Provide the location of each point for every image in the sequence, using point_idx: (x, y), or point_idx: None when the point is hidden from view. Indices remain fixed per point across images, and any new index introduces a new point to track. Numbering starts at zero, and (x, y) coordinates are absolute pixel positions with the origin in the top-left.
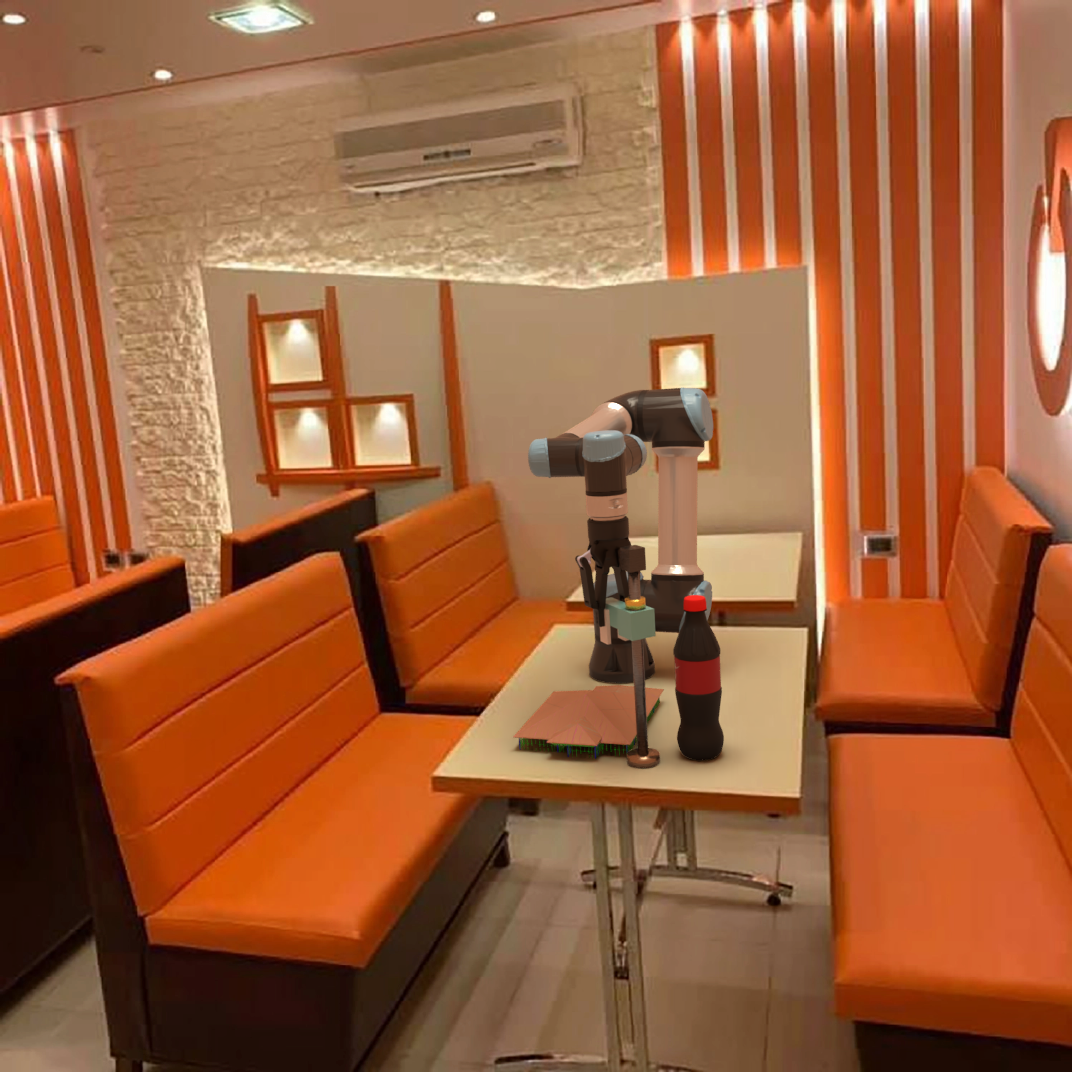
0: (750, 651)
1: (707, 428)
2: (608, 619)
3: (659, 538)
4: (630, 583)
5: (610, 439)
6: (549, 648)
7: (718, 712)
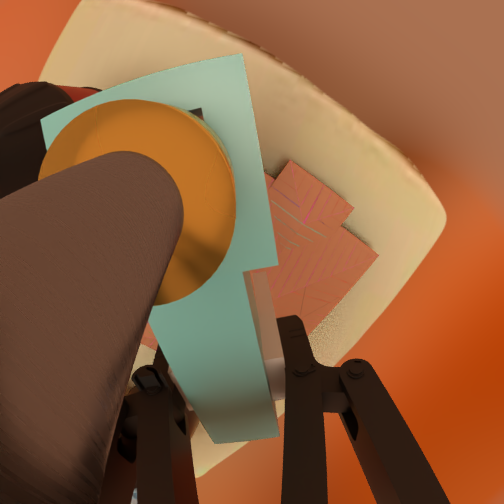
0: None
1: None
2: (266, 328)
3: None
4: (87, 280)
5: None
6: (221, 458)
7: None
